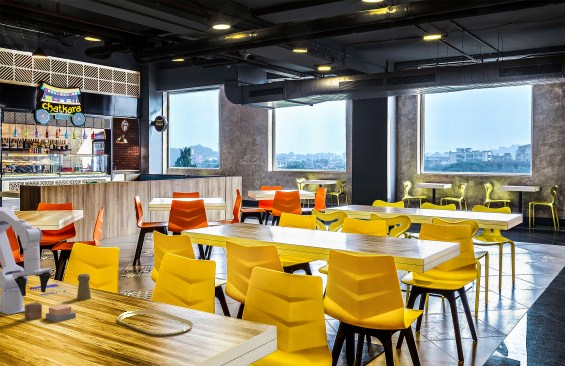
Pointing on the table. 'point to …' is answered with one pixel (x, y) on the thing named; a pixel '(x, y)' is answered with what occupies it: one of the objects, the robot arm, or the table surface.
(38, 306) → the walnut block
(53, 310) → the terracotta cap
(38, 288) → the booklet
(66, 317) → the gray slab
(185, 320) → the serving platter
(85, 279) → the taupe pawn
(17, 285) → the robot arm
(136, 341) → the table surface
